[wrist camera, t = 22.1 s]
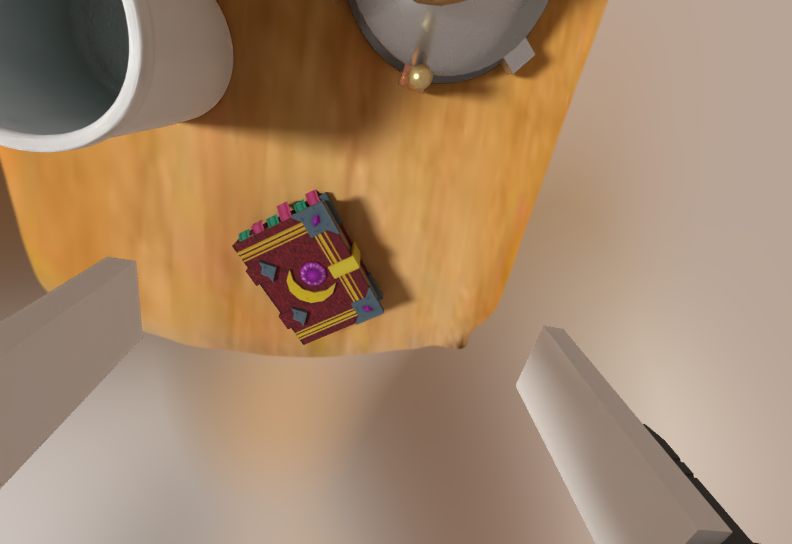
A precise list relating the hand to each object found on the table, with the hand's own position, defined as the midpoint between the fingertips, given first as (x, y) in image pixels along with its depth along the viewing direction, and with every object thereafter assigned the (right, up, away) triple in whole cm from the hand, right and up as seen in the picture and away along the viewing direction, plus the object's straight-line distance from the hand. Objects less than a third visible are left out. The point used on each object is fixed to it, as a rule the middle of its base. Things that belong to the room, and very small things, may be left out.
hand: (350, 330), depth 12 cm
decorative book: (-9, +3, +33) cm, 34 cm away
